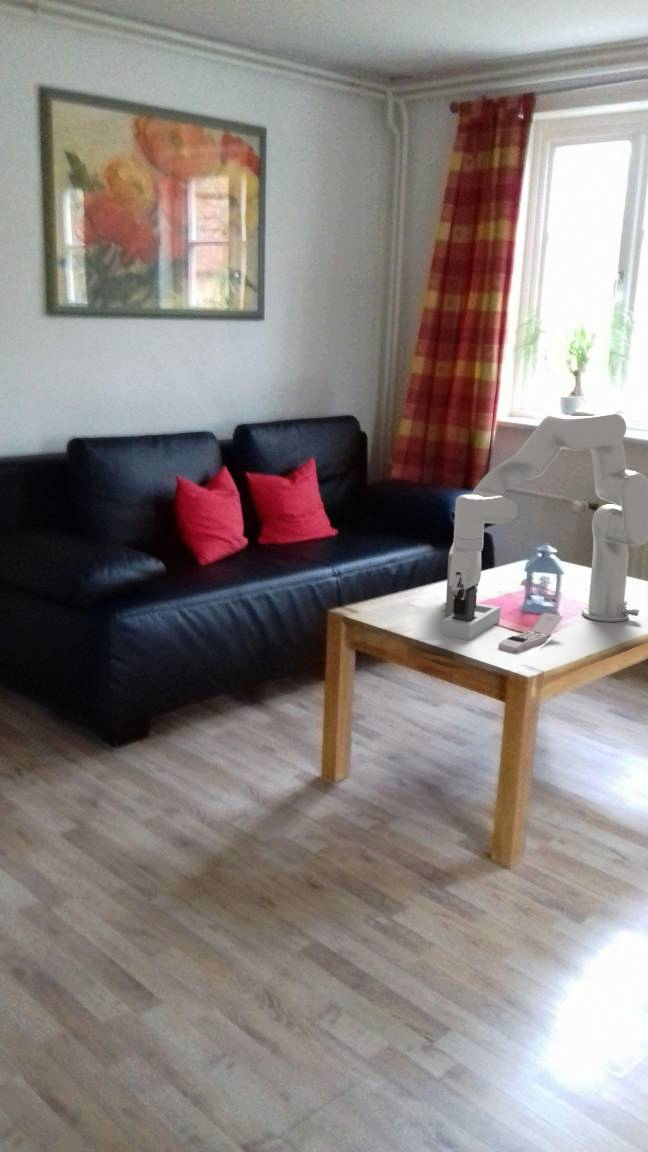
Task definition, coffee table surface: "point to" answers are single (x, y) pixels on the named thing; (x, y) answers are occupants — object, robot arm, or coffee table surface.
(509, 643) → the mobile phone
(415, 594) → the coffee table surface
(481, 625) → the socket block
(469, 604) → the plug
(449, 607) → the network device
